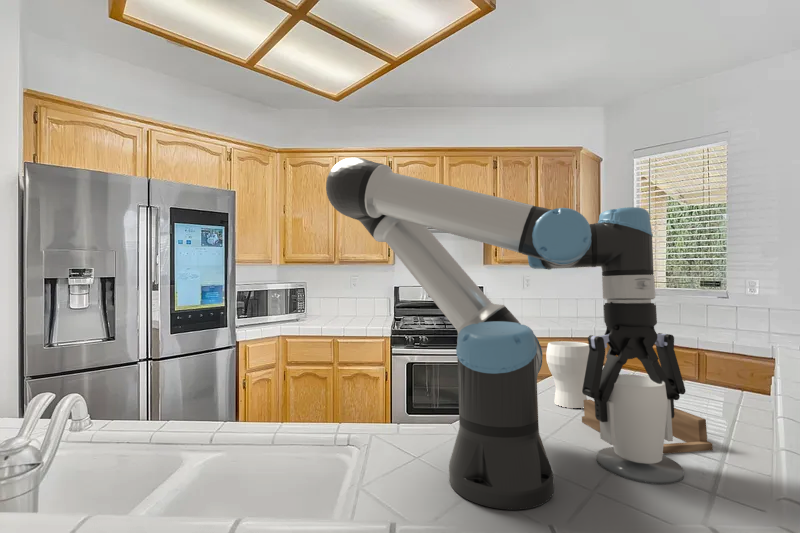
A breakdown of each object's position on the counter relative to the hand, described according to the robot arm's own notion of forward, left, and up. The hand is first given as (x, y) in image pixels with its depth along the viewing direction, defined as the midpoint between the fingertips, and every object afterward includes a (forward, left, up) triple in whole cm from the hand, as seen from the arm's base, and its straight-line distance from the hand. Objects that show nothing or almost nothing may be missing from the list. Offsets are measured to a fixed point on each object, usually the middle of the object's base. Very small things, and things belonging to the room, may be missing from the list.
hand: (636, 439), depth 62 cm
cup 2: (0, 0, -3) cm, 3 cm away
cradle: (+10, +12, -4) cm, 16 cm away
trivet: (0, 0, -4) cm, 4 cm away
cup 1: (+8, +33, -4) cm, 34 cm away
